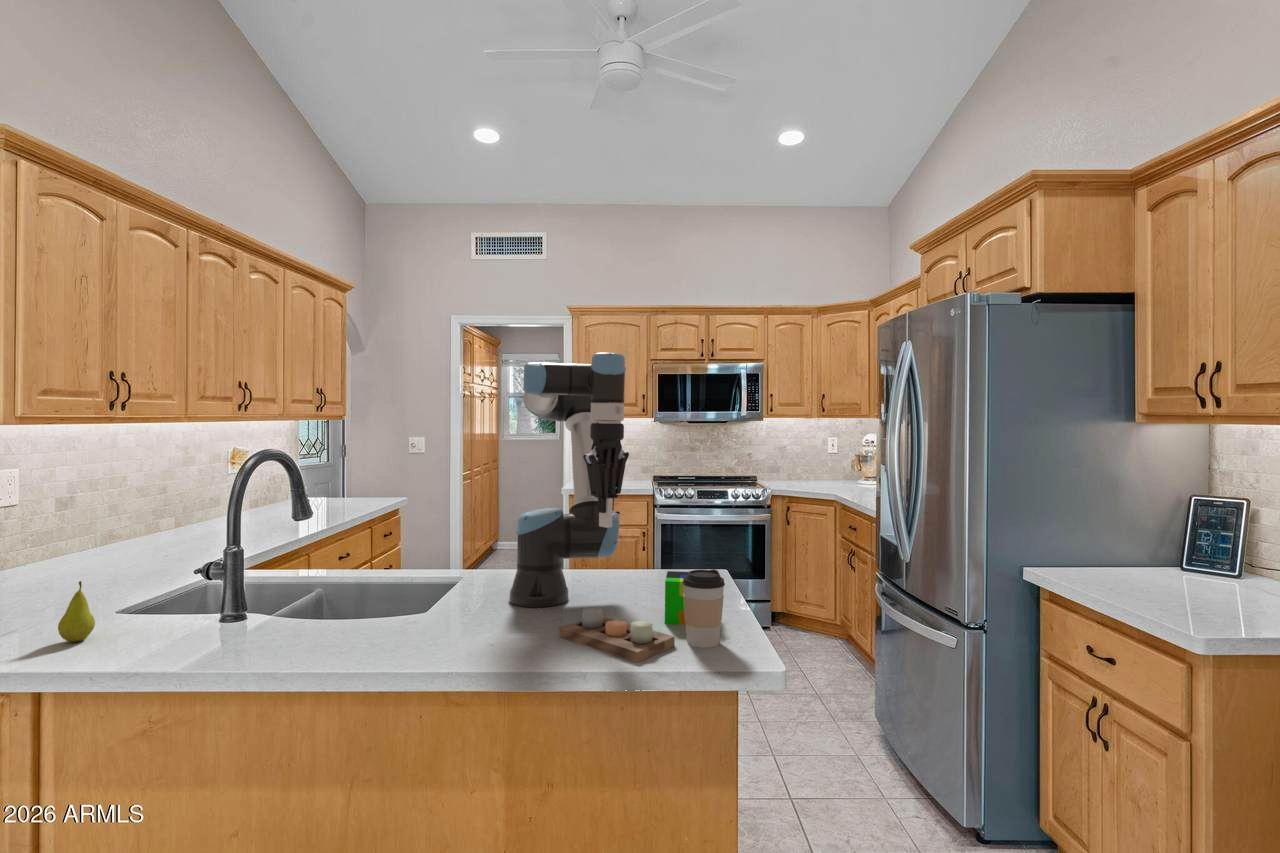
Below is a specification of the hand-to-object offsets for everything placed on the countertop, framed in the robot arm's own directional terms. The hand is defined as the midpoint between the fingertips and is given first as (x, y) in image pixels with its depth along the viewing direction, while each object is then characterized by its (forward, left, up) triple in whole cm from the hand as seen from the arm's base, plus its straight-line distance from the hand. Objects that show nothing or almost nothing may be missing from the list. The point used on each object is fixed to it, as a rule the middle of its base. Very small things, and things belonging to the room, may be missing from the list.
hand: (605, 526), depth 142 cm
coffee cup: (+22, +7, -23) cm, 33 cm away
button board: (+8, -5, -23) cm, 25 cm away
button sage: (+15, -5, -21) cm, 26 cm away
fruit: (-75, -79, -23) cm, 111 cm away
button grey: (+1, -5, -21) cm, 22 cm away
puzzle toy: (+10, +18, -23) cm, 31 cm away
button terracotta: (+8, -5, -23) cm, 24 cm away
